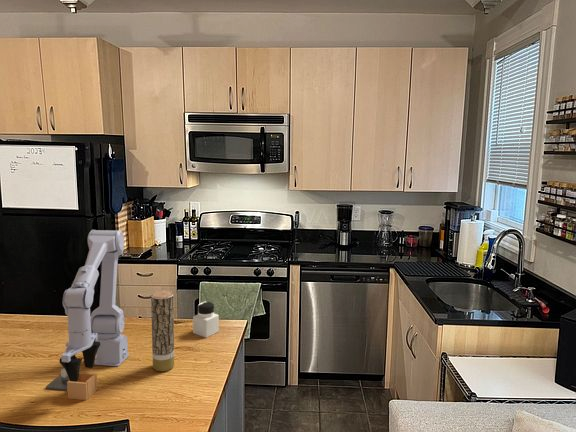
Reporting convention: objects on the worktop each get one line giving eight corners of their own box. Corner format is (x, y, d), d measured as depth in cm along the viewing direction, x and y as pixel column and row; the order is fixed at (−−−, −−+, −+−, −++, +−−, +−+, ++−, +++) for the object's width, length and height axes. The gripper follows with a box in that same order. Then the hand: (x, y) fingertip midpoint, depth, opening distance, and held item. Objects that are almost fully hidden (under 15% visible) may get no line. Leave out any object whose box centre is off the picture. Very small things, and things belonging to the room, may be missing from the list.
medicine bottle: (219, 331, 167) (219, 302, 165) (206, 338, 161) (206, 308, 159) (205, 327, 170) (205, 298, 169) (192, 333, 164) (192, 304, 163)
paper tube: (154, 374, 134) (152, 298, 130) (151, 364, 140) (150, 291, 136) (175, 370, 137) (174, 296, 133) (172, 360, 143) (171, 289, 139)
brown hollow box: (97, 389, 125) (96, 373, 124) (86, 400, 119) (85, 383, 119) (79, 387, 125) (78, 372, 125) (67, 398, 120) (66, 382, 119)
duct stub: (87, 376, 132) (86, 363, 131) (71, 390, 124) (71, 377, 123) (62, 374, 132) (62, 361, 132) (46, 388, 124) (45, 375, 124)
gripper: (81, 318, 127) (83, 360, 129) (49, 338, 113) (52, 386, 115) (103, 319, 126) (105, 362, 128) (74, 340, 112) (77, 388, 114)
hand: (81, 373), depth 121 cm, fingers open, 7 cm apart
